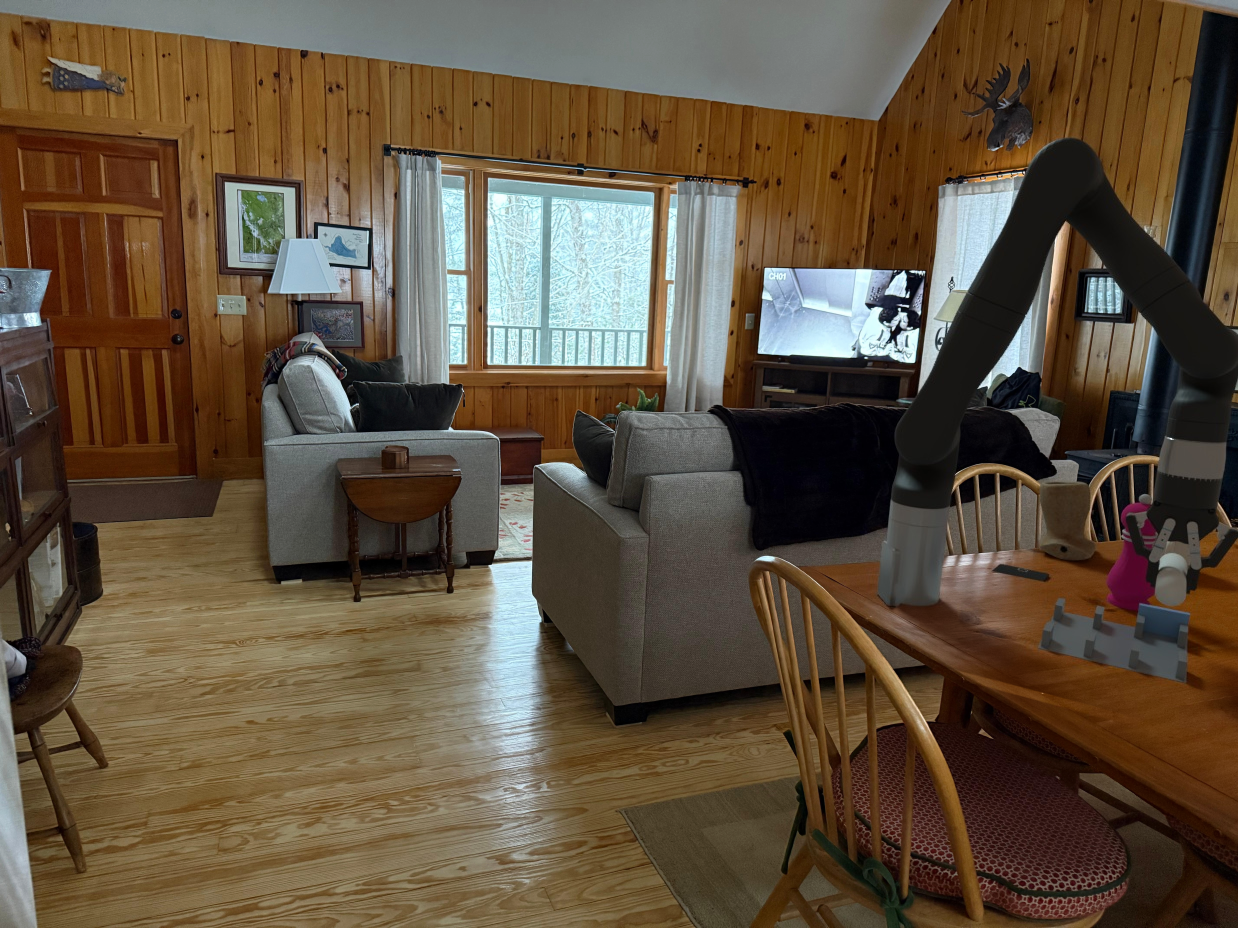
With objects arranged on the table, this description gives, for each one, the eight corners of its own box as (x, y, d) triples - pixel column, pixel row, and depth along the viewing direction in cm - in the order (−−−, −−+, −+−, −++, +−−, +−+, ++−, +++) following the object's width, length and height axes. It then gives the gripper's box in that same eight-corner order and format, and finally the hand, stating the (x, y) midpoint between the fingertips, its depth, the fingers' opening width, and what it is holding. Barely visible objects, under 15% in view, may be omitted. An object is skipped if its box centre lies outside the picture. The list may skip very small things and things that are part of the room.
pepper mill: (1159, 619, 137) (1180, 501, 133) (1111, 614, 138) (1130, 497, 134) (1142, 603, 144) (1161, 491, 140) (1096, 599, 145) (1114, 487, 141)
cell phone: (1049, 578, 157) (1050, 573, 157) (1026, 603, 143) (1026, 598, 143) (999, 567, 163) (1000, 563, 162) (972, 590, 149) (973, 585, 148)
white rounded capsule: (1183, 608, 111) (1188, 583, 111) (1153, 602, 113) (1156, 578, 113) (1184, 578, 124) (1188, 555, 124) (1157, 573, 126) (1160, 551, 126)
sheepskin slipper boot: (1037, 538, 183) (1046, 472, 180) (1098, 549, 176) (1109, 480, 173) (1023, 554, 171) (1033, 483, 168) (1089, 566, 164) (1100, 492, 161)
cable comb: (1185, 689, 111) (1191, 654, 110) (1036, 654, 121) (1041, 621, 120) (1186, 644, 127) (1191, 613, 126) (1054, 616, 137) (1059, 587, 136)
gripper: (1128, 468, 116) (1110, 585, 120) (1254, 483, 109) (1231, 608, 112) (1132, 460, 122) (1114, 572, 126) (1251, 474, 115) (1229, 593, 118)
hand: (1170, 588), depth 119 cm, fingers closed on white rounded capsule, 3 cm apart
